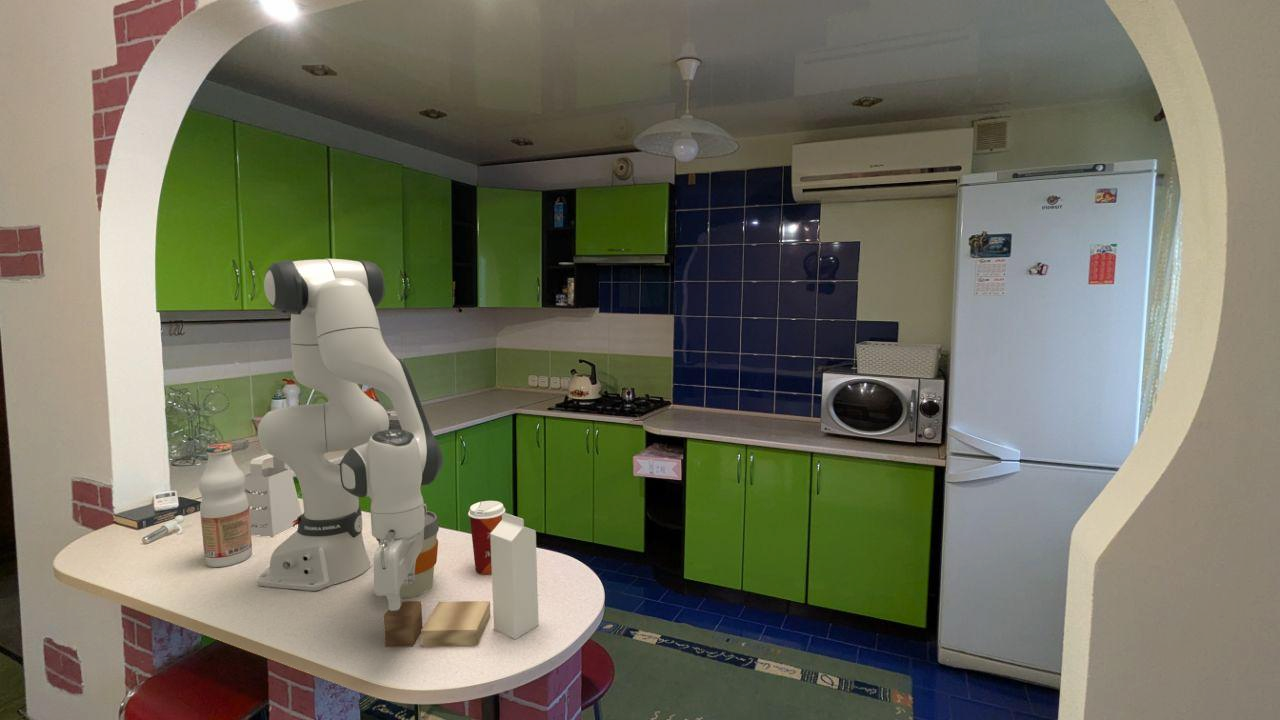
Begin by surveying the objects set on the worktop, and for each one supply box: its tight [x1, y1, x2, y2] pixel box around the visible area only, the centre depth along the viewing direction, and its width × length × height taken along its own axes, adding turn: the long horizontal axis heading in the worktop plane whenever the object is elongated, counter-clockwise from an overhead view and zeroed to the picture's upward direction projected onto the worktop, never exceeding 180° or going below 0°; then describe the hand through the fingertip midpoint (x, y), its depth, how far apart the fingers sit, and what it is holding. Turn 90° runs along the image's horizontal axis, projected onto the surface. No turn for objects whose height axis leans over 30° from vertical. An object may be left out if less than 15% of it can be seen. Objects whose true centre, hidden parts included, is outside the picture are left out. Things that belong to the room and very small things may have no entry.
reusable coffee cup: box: [375, 510, 440, 598], centre depth 127 cm, size 13×13×15 cm
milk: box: [490, 512, 539, 640], centre depth 111 cm, size 6×6×22 cm
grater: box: [244, 453, 303, 538], centre depth 160 cm, size 10×10×20 cm
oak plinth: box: [420, 600, 491, 647], centre depth 111 cm, size 10×10×3 cm
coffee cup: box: [467, 500, 506, 576], centre depth 135 cm, size 8×8×15 cm
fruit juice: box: [198, 442, 253, 568], centre depth 141 cm, size 9×9×28 cm
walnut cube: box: [382, 600, 424, 648], centre depth 108 cm, size 5×5×6 cm
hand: (402, 595), depth 107 cm, fingers open, 8 cm apart
